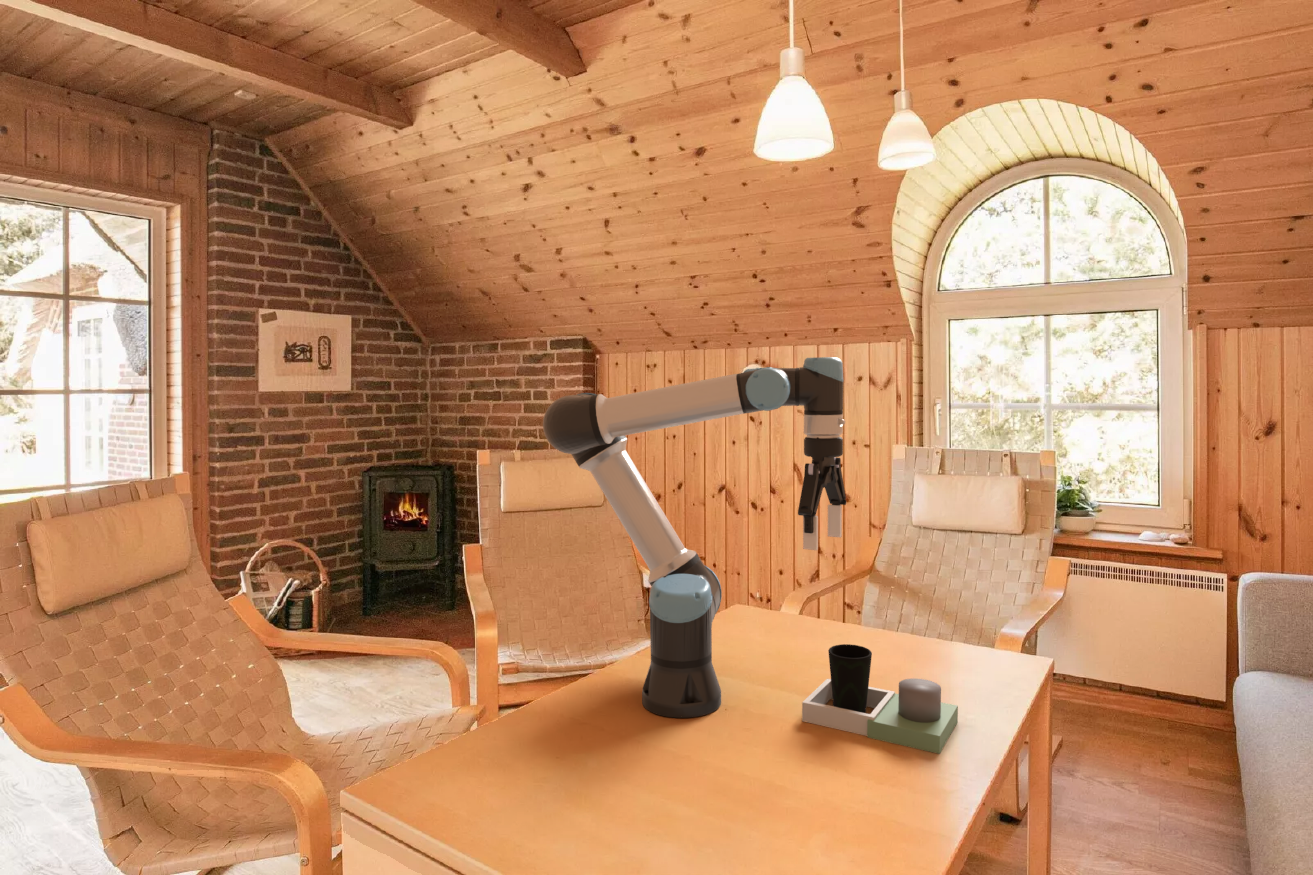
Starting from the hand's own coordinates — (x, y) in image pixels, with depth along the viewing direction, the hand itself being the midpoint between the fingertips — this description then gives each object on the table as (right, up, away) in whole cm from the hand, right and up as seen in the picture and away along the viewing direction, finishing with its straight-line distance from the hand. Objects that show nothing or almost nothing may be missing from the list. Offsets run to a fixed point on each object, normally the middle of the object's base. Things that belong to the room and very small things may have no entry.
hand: (822, 543), depth 160 cm
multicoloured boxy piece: (+7, -30, -16) cm, 35 cm away
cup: (+2, -30, -13) cm, 33 cm away
